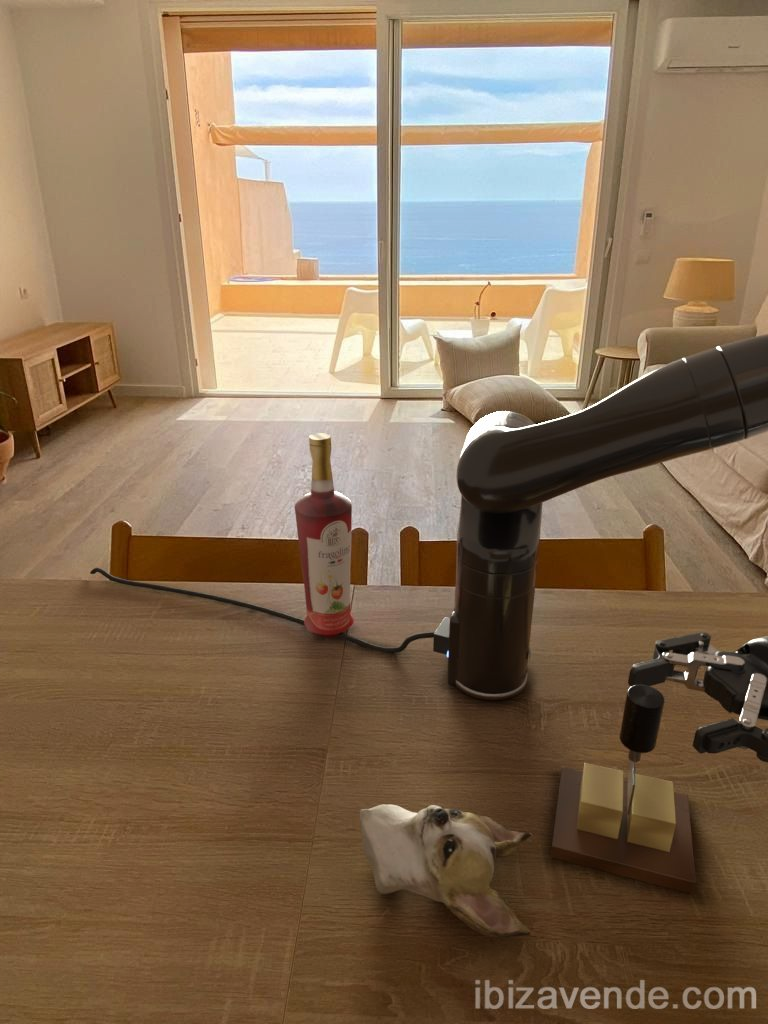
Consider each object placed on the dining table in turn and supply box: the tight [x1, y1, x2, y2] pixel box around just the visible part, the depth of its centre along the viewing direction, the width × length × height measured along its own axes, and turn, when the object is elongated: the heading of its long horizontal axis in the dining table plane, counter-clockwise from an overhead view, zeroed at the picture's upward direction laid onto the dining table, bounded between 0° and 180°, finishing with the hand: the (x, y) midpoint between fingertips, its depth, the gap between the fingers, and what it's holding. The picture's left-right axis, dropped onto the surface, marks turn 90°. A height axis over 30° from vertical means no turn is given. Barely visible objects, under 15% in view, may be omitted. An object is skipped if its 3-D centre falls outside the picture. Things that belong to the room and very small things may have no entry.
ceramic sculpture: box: [358, 803, 533, 938], centre depth 59 cm, size 11×9×15 cm
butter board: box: [550, 762, 697, 895], centre depth 64 cm, size 12×10×5 cm
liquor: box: [294, 432, 355, 638], centre depth 91 cm, size 7×7×28 cm
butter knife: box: [619, 685, 665, 815], centre depth 61 cm, size 3×6×10 cm, turn 162°
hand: (662, 708), depth 60 cm, fingers open, 8 cm apart
